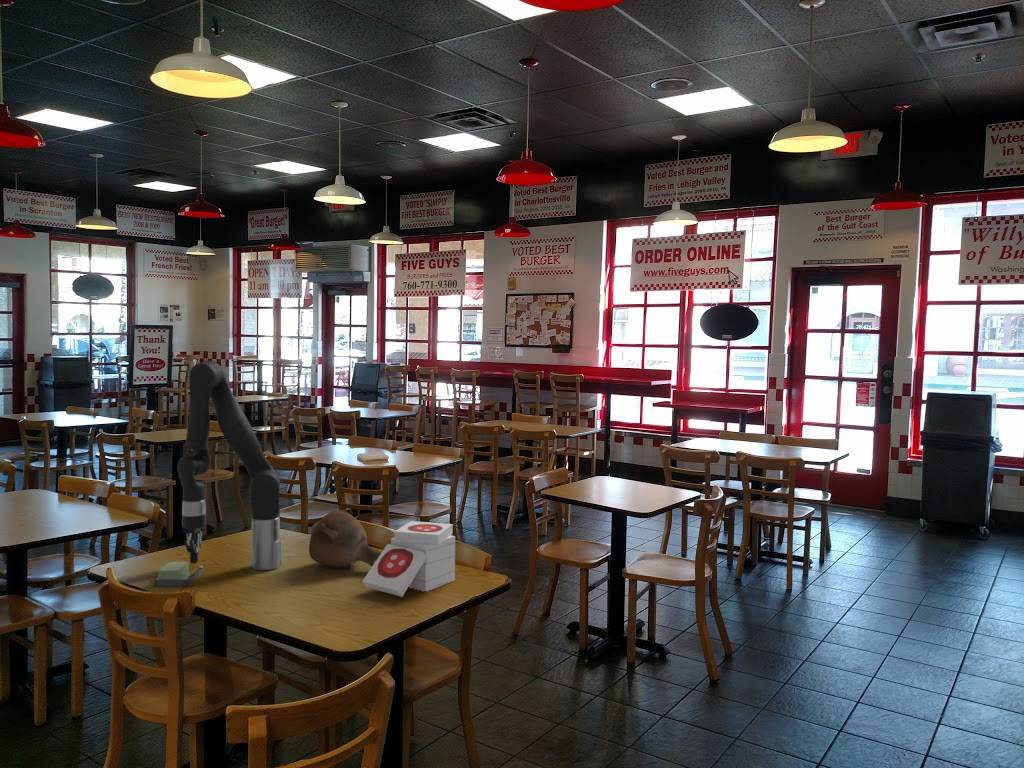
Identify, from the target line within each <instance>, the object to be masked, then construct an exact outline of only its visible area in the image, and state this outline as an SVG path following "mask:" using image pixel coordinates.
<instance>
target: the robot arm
mask: <svg viewBox="0 0 1024 768" xmlns="http://www.w3.org/2000/svg"><path fill="white" fill-rule="evenodd" d="M188 373H189V374H188V377H189V379H188V385H189V413H188V423H187V429H186V431H187V432H186V438H185V446H186V447H187V448H188V449H190V450H193V451H194V454H191V455H186V456H185V455H184V456H182V457H181V458H180V459H179V460H178V462H177V466H176V470H177V474H178V477H179V481H180V484H181V487H182V504H181V505H182V506H181V518H182V519H181V525H182V526H181V527H182V528H183V529H186V530H187V533H186V534H185V535H186V539H185V540H184V545H185V549H186V551H187V553H190V554H189V560H190V562H189V564H197V563H198V562H199V552H200V549H201V548H202V542H203V536H204V532H203V531H201V530H202V529H201V528H205V526H206V525H207V520H206V519H207V507H206V506H207V505H206V487H205V484H204V483H203V482H200V481H196V479H195V478H196V477H195V476H199V475H205V474H206V473H207V472H208V471H209V469H210V467H211V457H210V451H209V450H210V449H209V438H210V431H211V420H210V399H211V401H212V403H213V407H214V410H215V415H216V419H217V423H218V424H217V425H218V427H219V429H220V431H221V433H222V436H223V437H224V439H225V441H226V442H227V444H228V445H229V447H230V448H231V450H232V452H234V453H235V455H236V456H238V458H239V459H240V461H241V462H242V463H243V465H244V466H245V468H246V471H247V472H248V475H249V477H250V478H249V479H250V480H251V484H250V510H251V511H250V512H251V569H253V570H257V571H268V570H276V569H278V568H279V567H280V566H281V565H282V537H281V536H280V535H281V534H280V533H281V530H280V529H281V528H280V527H281V526H280V523H281V521H280V518H281V512H280V486H281V480H280V479H281V478H280V476H279V475H278V472H276V471H275V469H274V467H273V466H272V465H271V464H270V462H269V460H268V459H267V456H266V455H265V453H264V452H263V450H262V447H261V445H260V442H259V440H258V437H257V435H256V433H255V432H254V430H253V428H252V425H251V423H250V421H249V420H248V418H247V416H246V414H245V413H244V411H243V409H242V408H241V406H240V404H239V403H238V401H237V399H236V397H235V395H234V394H233V391H232V388H231V387H230V385H229V382H228V380H227V377H226V374H225V372H224V370H223V368H222V367H221V365H220V364H218V363H217V362H215V361H214V360H204V361H202V362H199V363H196V364H195V365H193V366H192V367H191V368H190V371H189V372H188Z"/></svg>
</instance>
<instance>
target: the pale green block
mask: <svg viewBox="0 0 1024 768" xmlns="http://www.w3.org/2000/svg"><path fill="white" fill-rule="evenodd" d="M189 577H190V562H189V561H169V562H168V563H166V564H165V565H163V567H161V568H160V569H159V570H157V578H158V579H188V578H189Z"/></svg>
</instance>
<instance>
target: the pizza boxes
mask: <svg viewBox="0 0 1024 768" xmlns="http://www.w3.org/2000/svg"><path fill="white" fill-rule="evenodd" d="M453 526H454V524H453V523H452V524H451V523H443V522H441V523H439V522H430V521H429V522H428V521H415V520H414V521H413V520H411V521H409V522H407V523H405V524H404V525H402V526H400V527H399V528H398V529H396V530H394V537H391V539H390V541H391V542H390V543H387V544H386V546H385V547H384V548H383V550H382V551H381V552H382V553H381V554H380V556H379V557H378V559H377V560H376V562H375V563H374V565H373V566H372V567H371V568H370V569H369V571H368V572H367V574H366V575H365V576H364V578H363V579H362V583H363V585H364V586H365V587H366V588H367V589H371V590H376V591H379V592H383V593H387V594H390V595H394V596H397V597H404V595H405V593H406V591H408V589H412V588H414V589H413V590H416V589H417V590H416V591H420V590H421V591H420V592H424V591H427V592H430V591H432V590H435V589H436V588H439V587H441V586H442V587H443V585H447V584H449V583H452V582H454V581H456V536H455V535H453V530H454V529H453V528H454V527H453ZM408 587H409V588H408ZM429 590H430V591H429Z"/></svg>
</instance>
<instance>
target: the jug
mask: <svg viewBox="0 0 1024 768" xmlns="http://www.w3.org/2000/svg"><path fill="white" fill-rule="evenodd" d="M308 553H309V557H310V558H311V559H312V561H314V562H316V563H317V564H319V565H322V566H325V567H330V568H336V569H338V568H339V569H340V568H347V567H349V568H352V567H353V565H354V564H356V563H358V561H360V562H363V563H366V564H367V565H369V566H370V567H371V568H372V566H373V565H374V563H375V562H376V560H377V559H378V557H379V556H380V554H381V553H382V551H378V550H375V549H374V548H373V547H371V546H370V545H369V544H368V537H367V532H366V530H365V528H364V526H363V525H362V524H361V522H359V521H358V519H356V518H355V517H354V516H353V515H352V514H351V513H349V512H347V511H344V510H342V509H334V510H330V512H328V513H326V515H324V516H323V517H322V518H321V519H320V520H318V521H317V522H315V523H314V524H312V526H311V529H310V540H309V546H308Z"/></svg>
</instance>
